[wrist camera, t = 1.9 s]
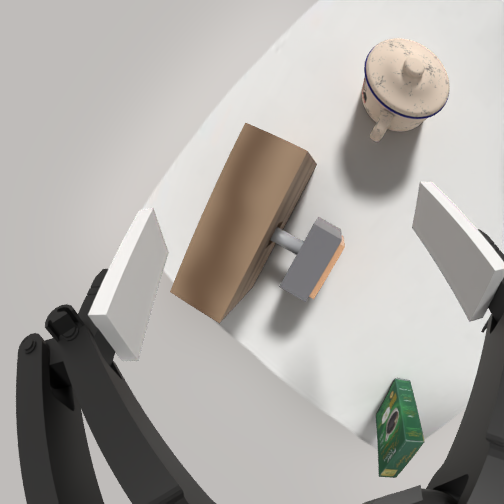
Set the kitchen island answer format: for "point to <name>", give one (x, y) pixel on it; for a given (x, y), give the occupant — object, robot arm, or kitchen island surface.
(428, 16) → the kitchen island surface
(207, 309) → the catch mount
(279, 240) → the gray housing block
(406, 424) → the coffee box
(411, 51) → the teacup with lid
